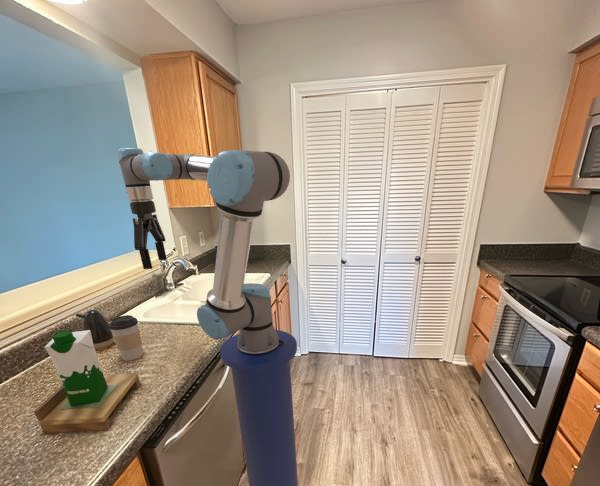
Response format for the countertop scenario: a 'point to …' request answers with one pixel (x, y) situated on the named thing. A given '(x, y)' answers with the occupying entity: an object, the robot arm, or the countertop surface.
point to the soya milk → (77, 366)
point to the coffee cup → (127, 337)
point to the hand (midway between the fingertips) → (155, 264)
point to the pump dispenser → (97, 328)
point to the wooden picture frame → (84, 407)
